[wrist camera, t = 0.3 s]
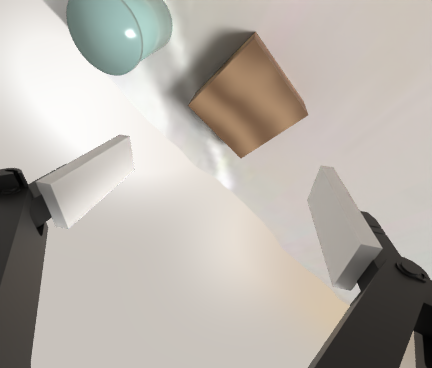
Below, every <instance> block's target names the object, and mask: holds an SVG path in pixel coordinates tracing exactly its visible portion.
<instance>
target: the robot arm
mask: <svg viewBox="0 0 432 368" xmlns="http://www.w3.org/2000/svg"><path fill="white" fill-rule="evenodd" d="M133 171H134V164H133V156H132V150H131V142H130V136H124V135H118V136H116V137H115V138H113V139H111V140H109V141H107V142H106V143H104V144H102V145H100V146H98V147H97V148H95V149H93V150H91V151H89V152H88V153H86V154H84V155H82V156H80V157H79V158H77V159H75V160H74V161H72V162H70V163H68V164H65V165H63V166H61V167H59V168H57V169H56V170H54V171H52V172H50V174H49V173H48V174H46V175H45V176H43V177H41V178H39V179H37V180H35V181H34V182H32V183H30V184H27V181H26V179H25V177H24V175H23V173H22V171H21V170H20V169H17V168H6V169H1V170H0V368H31V355H32V347H33V338H34V331H35V324H36V316H37V308H38V301H39V293H40V285H41V278H42V270H43V262H44V254H45V247H46V239H47V232H48V226H47V223H46V221H48V220H49V219H50V218H51V217H52V219H53V222H54V224H55V226H57V227H62V228H66V229H69V228H70V227H71V226H72V225H74V224H75V222H77V221H78V220H79V219H80V218H81V217H83V216H84V215H85V214H86V213H87V212H88V211H89V210H90V209H91V208H93V207H94V206H95V205H96V204H97V203H98V202H99V201H100V200H102V199H103V198H104V197H105V196H106V195H107V194H108V193H109V192H110V191H111V190H113V189H114V188H115V187H116V186H117V185H118V184H119V183H121V182H122V181H123V180H124V179H125V178H126V177H127V176H128V175H130V174H131V173H132V172H133ZM307 201H308V204H309V208H310V211H311V215H312V218H313V221H314V225H315V228H316V231H317V235H318V238H319V242H320V245H321V248H322V252H323V255H324V258H325V262H326V265H327V269H328V272H329V275H330V279H331V282H332V285H333V287H337V288H341V289H346V290H350V291H351V290H352V289H353V287H354V286H355V285H356V283H358V285H359V288H360V290H361V292H360V293H359V294H358V296H357V297H356V298H355V299H354V301H353V302H352V303H351V304H350V307H349V309H348V310H347V312H346V313H345V314H344V316H343V318H342V319H341V320H340V322H339V323H338V325H337V326H336V328H335V329H334V330H333V332H332V333H331V335H330V336H329V338H328V339H327V341H326V342H325V343H324V345H323V346H322V348H321V350H320V351H319V352H318V354H317V355H316V357H315V358H314V359H313V361H312V362H311V364H310V365H309V367H308V368H399V367H400V364H401V361H402V359H403V356H404V353H405V351H406V348H407V345H408V343H409V340H410V337H411V334H412V332H413V331H414V340H415V358H416V368H432V280H430V278H429V276H428V274H427V273H426V272H425V271H424V270H423V269H422V268H421V267H420V266H418V265H417V264H416V263H414V262H413V261H411V260H408V259H406V258H404V257H401V256H400V254H399V253H398V251H397V250H396V248H395V247H394V245H393V244H392V242H391V241H390V240H389V238H388V237H387V235H385V232H384V231H383V229H381V226H380V225H379V223H378V222H377V220H376V219H375V218H373V217H372V216H371V215H370V214H369V213H367V212H362V211H360V210H359V209H358V207H357V205H356V204H355V202H354V200H353V199H352V197H351V196H350V194H349V192H348V191H347V189H346V187H345V186H344V184H343V183H342V181H341V179H340V178H339V176H338V174H337V173H336V171H335V169H334V168H333V167H327V166H320V169H319V171H318V174H317V177H316V179H315V182H314V184H313V187H312V189H311V192H310V194H309V197H308V199H307Z"/></svg>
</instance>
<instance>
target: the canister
mask: <svg viewBox="0 0 432 368" xmlns="http://www.w3.org/2000/svg"><path fill="white" fill-rule="evenodd" d="M67 23H68V28H69V31H70V34H71V36H72V38H73V41H74V43H75V45H76V46H77V48H78V50H79V51H80V52H81V53H82V55H83V56H84V57H85V58H86V60H87V61H88V62H89V63H91V64H92V65H93V66H94V67H96V68H97V69H99V70H100V71H102V72H104V73H107V74H110V75H124V74H126V73H128V72H130V71H131V70H133V69H134V68H135V67H136V66H137V65H138V64H139V62H140V61H141V60H143V59H145V58H146V57H148V56H149V55H151V54H153V53H154V52H156V51H158V50H159V49H161V48H162V47H164V46H165V45H166V44H167V43H168V41H169V40H170V37H171V34H172V18H171V14H170V12H169V9H168V7H167V5H166V4H165V2H164V1H163V0H69V1H68V5H67Z"/></svg>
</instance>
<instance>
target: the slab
mask: <svg viewBox="0 0 432 368" xmlns="http://www.w3.org/2000/svg"><path fill="white" fill-rule="evenodd" d="M188 106H189V107H190V108H191V109H192V110H193V111H194V112H195V113H196V114H197V115H198V116H199V117H200V118H201V119H202V120H203V121H204V122H205V123H206V124H207V125H208V126H209V127H210V128H211V129H212V130H213V131H214V132H215V133H216V134H217V135H218V136H219V137H220V138H221V139H222V140H223V141H224V142H225V143H226V144H227V145H228V146H229V147H230V148H231V149H232V150H233V151H234V152H235V153H236V154H237V155H238V156H239V157H240V158H242V157H244V156H246V155H247V154H249V153H250V152H252V151H253V150H255V149H256V148H258V147H260V146H261V145H263V144H264V143H266V142H267V141H269V140H270V139H272V138H274V137H275V136H277V135H278V134H280V133H281V132H283V131H284V130H286V129H287V128H289V127H291V126H292V125H294V124H295V123H297V122H298V121H300V120H301V119H303V118H305V117H306V116H308V113H307V110H306V107H305V104H304V101H303V100H302V99H301V97H300V96H299V94H298V93H297V91H296V90H295V88H294V87H293V85H292V84H291V83H290V81H289V80H288V78H287V77H286V75H285V74H284V72H283V71H282V69H281V68H280V67H279V65H278V64H277V62H276V61H275V59H274V58H273V56H272V55H271V53H270V52H269V51H268V49H267V48H266V46H265V45H264V43H263V42H262V40H261V39H260V37H259V36H258V34H257V33H256V32H255V33H254V34H253V35H252V36H251V37H250V38H249V39H248V40H247V41H246V42H245V43H244V44H243V45H242V46H241V47H240V48H239V49H238V50H237V51H236V52H235V53H234V54H233V55H232V57H231V58H230V59H229V60H228V61H227V62H226V63H225V64H224V65H223V66H222V67H221V68H220V69H219V70H218V71H217V72H216V73H215V74H214V75H213V76H212V77H211V78H210V79H209V80H208V81H207V82H206V83H205V84H204V85H203V86H202V88H201V89H200V90H199V91H198V92H197V93H196V94H195V95H194V97H193V99H192V100H191V102H190V103H189V105H188Z"/></svg>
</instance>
